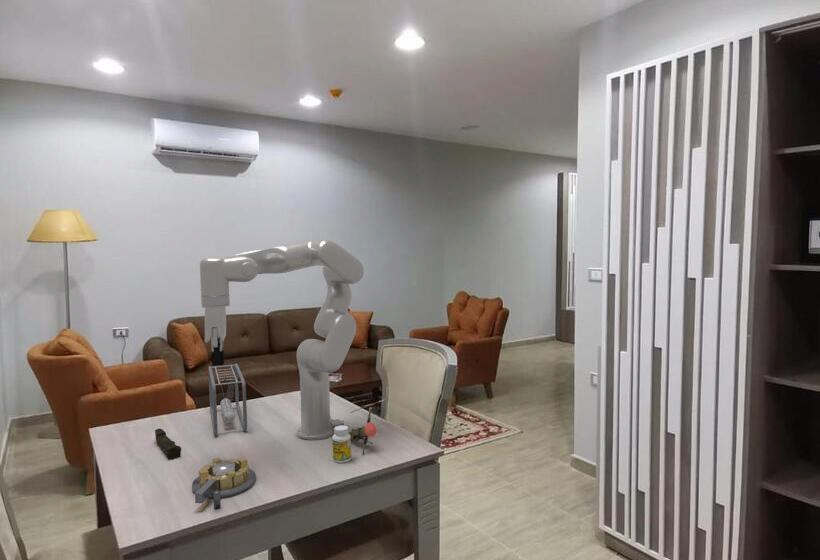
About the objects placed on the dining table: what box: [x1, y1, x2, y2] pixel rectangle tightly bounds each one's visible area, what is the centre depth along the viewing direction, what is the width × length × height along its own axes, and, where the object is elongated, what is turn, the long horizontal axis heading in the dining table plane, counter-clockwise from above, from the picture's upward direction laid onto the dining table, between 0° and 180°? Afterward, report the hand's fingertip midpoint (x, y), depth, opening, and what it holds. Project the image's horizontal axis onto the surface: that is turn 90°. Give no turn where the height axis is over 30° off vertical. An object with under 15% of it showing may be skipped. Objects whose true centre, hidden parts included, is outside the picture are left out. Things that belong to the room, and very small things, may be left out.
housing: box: [191, 461, 257, 513], centre depth 135 cm, size 16×21×5 cm
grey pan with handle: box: [194, 456, 250, 505], centre depth 134 cm, size 20×12×4 cm, turn 174°
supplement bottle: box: [331, 425, 352, 464], centre depth 152 cm, size 5×5×10 cm
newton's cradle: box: [207, 363, 248, 437], centre depth 184 cm, size 30×10×18 cm, turn 24°
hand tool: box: [154, 428, 182, 460], centre depth 161 cm, size 19×4×5 cm, turn 38°
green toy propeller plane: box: [348, 399, 385, 457], centre depth 161 cm, size 16×10×20 cm
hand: (218, 364), depth 148 cm, fingers closed
